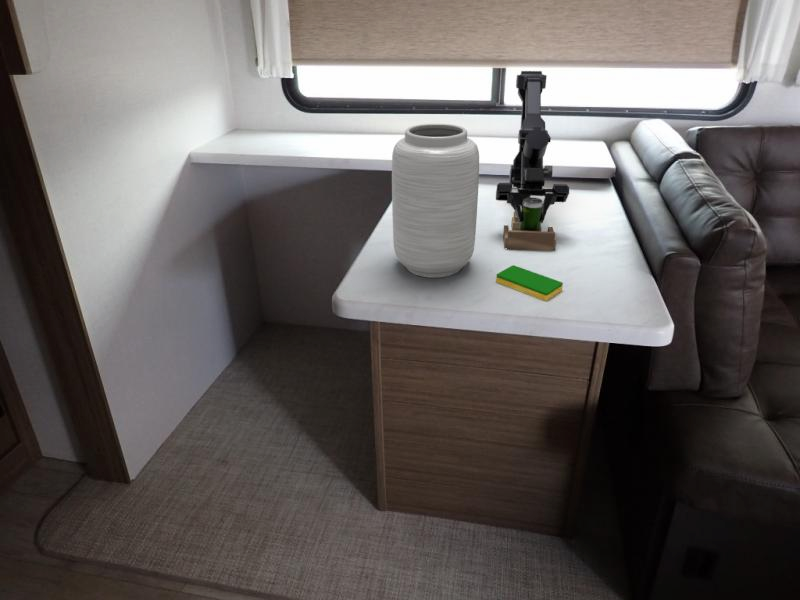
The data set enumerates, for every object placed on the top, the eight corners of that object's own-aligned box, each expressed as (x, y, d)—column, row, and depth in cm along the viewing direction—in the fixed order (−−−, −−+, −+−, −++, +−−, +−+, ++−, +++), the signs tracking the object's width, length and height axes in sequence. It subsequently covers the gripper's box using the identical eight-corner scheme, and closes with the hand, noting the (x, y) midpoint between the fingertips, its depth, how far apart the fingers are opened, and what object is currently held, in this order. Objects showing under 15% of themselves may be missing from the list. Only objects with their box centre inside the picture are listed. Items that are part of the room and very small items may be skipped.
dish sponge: (512, 273, 141) (513, 264, 140) (562, 291, 133) (563, 282, 132) (495, 283, 137) (495, 274, 136) (545, 303, 128) (546, 293, 127)
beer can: (530, 248, 153) (535, 205, 147) (514, 242, 156) (518, 200, 150) (542, 242, 156) (547, 200, 150) (526, 237, 159) (530, 195, 153)
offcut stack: (511, 226, 167) (512, 211, 165) (539, 226, 166) (541, 212, 164) (512, 232, 162) (513, 217, 160) (541, 233, 161) (543, 218, 159)
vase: (382, 256, 150) (378, 124, 134) (452, 244, 156) (457, 117, 140) (411, 290, 133) (410, 145, 117) (488, 275, 140) (498, 135, 123)
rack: (503, 235, 161) (504, 218, 158) (551, 236, 160) (553, 220, 157) (504, 249, 153) (506, 231, 150) (555, 251, 151) (557, 233, 149)
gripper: (499, 152, 149) (497, 208, 145) (573, 154, 147) (573, 210, 143) (496, 173, 160) (494, 225, 156) (565, 174, 158) (565, 227, 154)
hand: (531, 221), depth 152 cm, fingers closed on beer can, 5 cm apart
